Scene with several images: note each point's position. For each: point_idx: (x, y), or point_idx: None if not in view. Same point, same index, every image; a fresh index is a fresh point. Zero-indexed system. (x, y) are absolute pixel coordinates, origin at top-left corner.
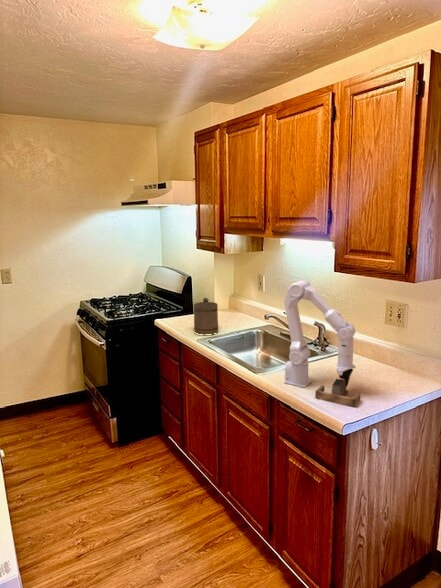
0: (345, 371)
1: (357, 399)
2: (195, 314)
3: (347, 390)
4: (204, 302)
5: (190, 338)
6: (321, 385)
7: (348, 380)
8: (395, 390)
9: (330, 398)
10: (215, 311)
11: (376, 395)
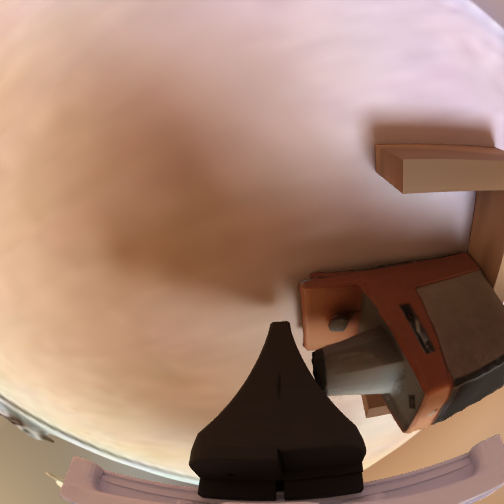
0: (354, 476)
1: (475, 154)
2: None
3: (308, 292)
4: None
5: None
6: (374, 415)
7: (275, 361)
8: (12, 44)
9: None
10: None
11: (167, 70)
